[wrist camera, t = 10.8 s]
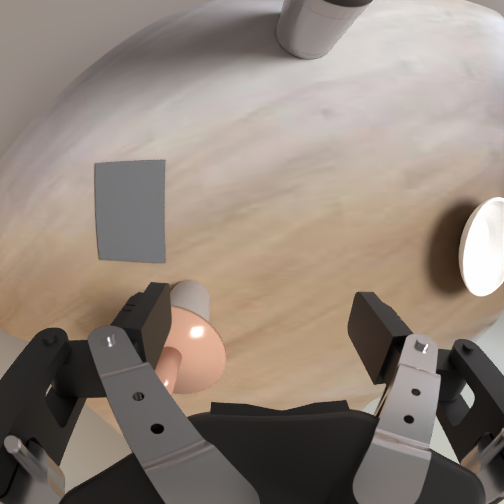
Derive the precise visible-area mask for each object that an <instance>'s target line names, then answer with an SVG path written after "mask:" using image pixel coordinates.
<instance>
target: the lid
mask: <svg viewBox="0 0 504 504" xmlns="http://www.w3.org/2000/svg"><path fill="white" fill-rule="evenodd" d="M171 312H172V324H171V329H170V332H169V335H168V337H167V340H166V342H165V345H164V348H163V350H162V353H161V355H160V358H159V361H158V363H157V366H156V369H155V373H156V374H157V376H158V377H159V379H160V380H161V382H162V383H163V385H164V386H165V388H166V389H167V391H168V392H169V394H170V395H171V396H172V393H175V394H190V393H196V392H200V391H203V390H205V389H207V388H209V387H211V386H212V385H213V384H215V383H216V382H217V381H218V380H219V378H220V377H221V375H222V373H223V371H224V368H225V361H226V351H225V346H224V343H223V341H222V338H221V337H220V335H219V333H218V332H217V331H216V329H215V328H214V327H213V326H212V325H211V324H210V323H209V322H208V321H207V320H205V319H204V318H203V317H201V316H200V315H198V314H197V313H195V312H193V311H191V310H188V309H185V308H183V307H179V306H175V305H171Z"/></svg>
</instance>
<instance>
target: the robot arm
mask: <svg viewBox="0 0 504 504" xmlns="http://www.w3.org/2000/svg"><path fill="white" fill-rule="evenodd" d="M372 1H373V0H284V3H283V7H282V10H281V14H280V17H279V21H278V25H277V28H276V36H277V39H278V41H279V43H280V45H281V46H282V47H283V48H284V49H285V50H286V51H287V52H289V53H291V54H292V55H294V56H297V57H300V58H304V59H316V58H320V57H322V56H324V55H326V54H327V53H328V52H329V51H330V50H331V49H332V47H333V46H334V45H335V44H336V43H337V42H338V40H339V39H340V38H341V37H342V35H343V34H344V33H345V32H346V31H347V29H348V28H349V27H350V26H351V25H352V24H353V22H354V21H355V20H356V19H357V18H358V16H359V15H360V14H361V13H362V12H363V11H364V9H365V8H366V7H367V6H368V5H369V4H370V3H371V2H372ZM171 324H172V312H171V299H170V287H169V284H168V283H156V282H151V283H150V284H149V286H148V287H147V289H146V290H145V291H144V293H141V292H138V293H137V294H135V295H134V296H132V297H130V298H129V300H128V301H127V303H126V305H124V307H123V308H122V311H120V312H119V314H118V315H117V316H116V318H115V319H114V321H113V322H112V323H111V325H110V326H103V327H100V328H97V329H95V330H94V331H92V332H91V333H90V334H89V336H88V340H74V341H69V340H68V336H67V333H66V332H65V331H64V330H63V329H60V328H47V329H44V330H42V331H40V332H39V333H37V334H36V335H35V336H34V338H33V339H32V340H31V341H30V342H29V344H28V345H27V346H26V347H25V349H24V350H23V351H22V352H21V354H20V355H19V356H18V357H17V359H16V360H15V361H14V363H13V364H12V365H11V366H10V368H9V369H8V370H7V372H6V373H5V374H4V376H3V377H2V378H1V380H0V504H498V503H499V502H501V501H502V500H503V499H504V376H503V375H502V373H501V372H500V371H499V370H498V368H497V367H496V366H495V365H494V364H493V362H492V361H491V360H490V359H489V358H488V357H487V356H486V354H485V353H484V352H483V351H482V350H481V349H480V348H479V346H477V345H476V344H475V343H473V342H472V341H469V340H466V339H458V340H456V341H455V342H454V345H453V347H452V349H451V350H445V349H438V346H437V344H436V342H435V341H434V340H432V339H431V338H429V337H427V336H425V335H421V334H413V332H412V331H411V330H410V329H409V328H408V326H407V325H406V324H405V323H404V322H403V321H401V318H400V317H399V316H398V315H397V313H396V312H395V311H394V310H393V309H392V308H391V307H390V306H388V305H386V304H385V303H383V302H382V301H381V300H380V299H379V298H378V297H377V295H376V294H375V293H374V292H357V293H356V294H355V297H354V301H353V305H352V309H351V313H350V317H349V321H348V335H349V337H350V339H351V341H352V343H353V345H354V347H355V349H356V350H357V352H358V354H359V356H360V358H361V360H362V362H363V364H364V366H365V368H366V370H367V372H368V374H369V376H370V378H371V380H372V382H373V384H374V385H376V384H383V383H385V384H386V387H385V389H384V391H383V393H382V396H381V398H380V401H379V403H378V406H377V408H376V410H375V412H374V415H371V414H369V413H366V412H362V411H358V410H352V409H349V407H348V404H347V401H346V400H342V401H332V402H319V403H312V404H309V405H305V406H301V407H297V408H293V409H288V410H282V411H281V410H274V409H269V408H264V407H259V406H254V405H249V404H236V403H218V402H211V410H210V412H204V413H199V414H195V415H192V416H189V417H186V416H185V414H184V413H183V412H182V410H181V409H180V408H179V406H178V405H177V403H176V402H175V401H174V399H173V398H172V396H171V395H170V394H169V392H168V391H167V389H166V388H165V386H164V385H163V383H162V382H161V380H160V379H159V377H158V376H157V374H156V373H155V369H156V366H157V363H158V361H159V358H160V355H161V353H162V350H163V348H164V345H165V342H166V340H167V337H168V335H169V332H170V329H171ZM466 383H467V384H468V385H469V387H470V388H471V389H472V391H473V393H474V396H475V401H474V404H473V406H472V407H471V408H469V407H468V405H467V404H466V402H465V400H464V399H463V397H462V396H461V394H460V393H461V391H462V390H463V388H464V386H465V385H466ZM50 384H51V385H52V387H51V389H50V390H49V392H48V394H47V396H46V391H47V389H48V387H49V386H50ZM45 396H46V397H45ZM98 397H107V399H108V402H109V404H110V407H111V409H112V411H113V414H114V416H115V418H116V420H117V423H118V425H119V427H120V429H121V431H122V433H123V435H124V437H125V439H126V441H127V443H128V445H129V447H130V449H131V451H132V453H131V454H129V455H128V456H126V457H125V458H123V459H122V460H120V461H119V462H117V463H115V464H114V465H112V466H110V467H109V468H107V469H106V470H104V471H102V472H101V473H99V474H97V475H95V476H94V477H92V478H91V479H89V480H87V481H85V482H83V483H82V484H80V485H78V486H76V487H74V488H73V489H72V490H70V491H68V492H67V493H66V494H65V489H64V488H65V477H64V474H63V472H62V471H61V469H60V468H59V465H60V463H61V460H62V457H63V455H64V452H65V449H66V446H67V444H68V442H69V439H70V437H71V434H72V432H73V429H74V427H75V424H76V422H77V420H78V417H79V415H80V413H81V410H82V408H83V406H84V403H85V401H86V399H87V398H98ZM435 415H436V416H437V418H438V420H439V422H440V424H441V426H442V428H443V430H444V432H445V434H446V436H447V438H448V440H449V442H450V444H451V446H452V448H453V450H454V452H455V454H456V456H457V459H458V461H459V463H460V465H459V464H458V463H456V462H454V461H452V460H450V459H448V458H446V457H444V456H442V455H441V454H439V453H437V452H435V451H433V450H432V449H430V448H429V444H430V440H431V436H432V431H433V426H434V420H435Z"/></svg>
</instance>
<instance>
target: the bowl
mask: <svg viewBox="0 0 504 504" xmlns="http://www.w3.org/2000/svg"><path fill="white" fill-rule="evenodd" d="M459 267H460V272H461V276H462V279H463V281H464V283H465V285H466V287H467V288H468V289H469V291H470V292H471V293H473V294H474V295H476V296H486V295H488V294H490V293H492V292H493V291H495V290H496V289H497V288H498V287H499V286H500V285H501V284H502V283H503V281H504V199H503V198H500V197H498V198H491V199H488V200H486V201H484V202H483V203H481V204H480V205H479V206H478V207H477V208H476V209H475V210H474V211H473V213H472V214H471V215H470V217H469V219H468V221H467V222H466V225H465V227H464V230H463V233H462V236H461V240H460V246H459Z"/></svg>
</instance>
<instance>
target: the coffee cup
mask: <svg viewBox="0 0 504 504" xmlns="http://www.w3.org/2000/svg"><path fill="white" fill-rule="evenodd" d="M170 299H171V305H175V306H179V307H183V308H185V309H188V310H191V311H193V312H195V313H197V314H198V315H200V316H201V317H203V318H204V319H205V320H207V321H208V322H209V318H210V295H209V292H208V290H207V289H206V287H205V286H204V285H202V284H201V283H199V282H197V281H194V280H184V281H181V282H179V283H178V284H177V285H176V286H175V287H174V288H173V289H172V291H171V292H170Z"/></svg>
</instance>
